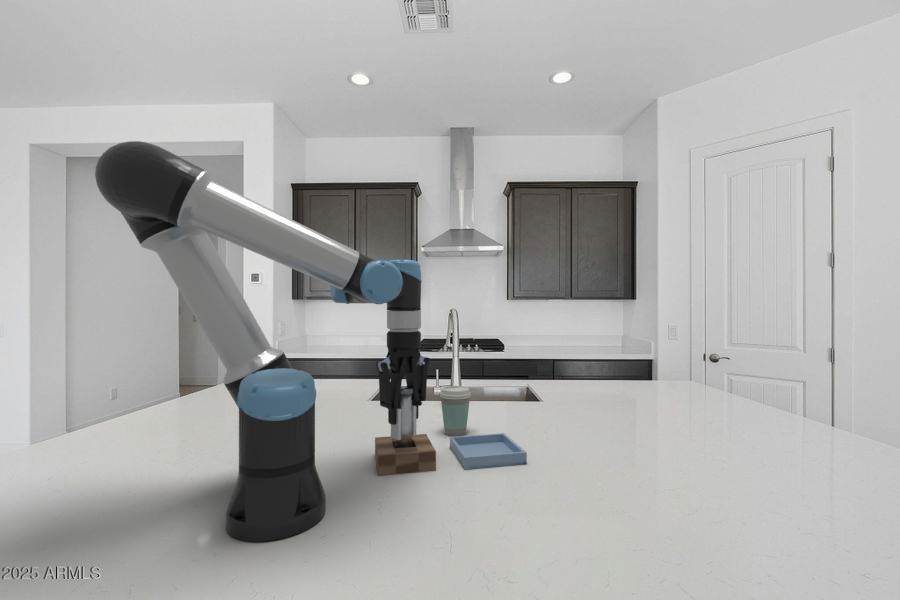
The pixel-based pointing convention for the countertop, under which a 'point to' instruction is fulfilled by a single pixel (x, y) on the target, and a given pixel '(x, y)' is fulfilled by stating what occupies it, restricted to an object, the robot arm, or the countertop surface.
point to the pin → (405, 417)
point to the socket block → (404, 456)
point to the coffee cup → (455, 409)
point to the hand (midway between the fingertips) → (403, 436)
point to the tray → (487, 451)
